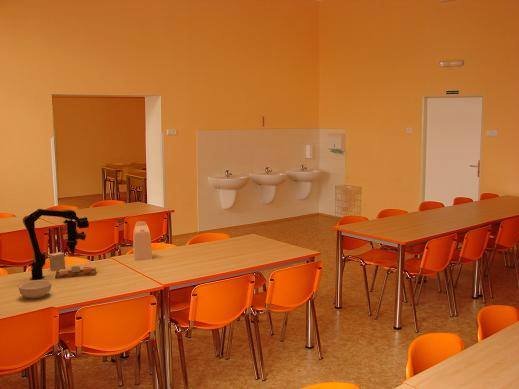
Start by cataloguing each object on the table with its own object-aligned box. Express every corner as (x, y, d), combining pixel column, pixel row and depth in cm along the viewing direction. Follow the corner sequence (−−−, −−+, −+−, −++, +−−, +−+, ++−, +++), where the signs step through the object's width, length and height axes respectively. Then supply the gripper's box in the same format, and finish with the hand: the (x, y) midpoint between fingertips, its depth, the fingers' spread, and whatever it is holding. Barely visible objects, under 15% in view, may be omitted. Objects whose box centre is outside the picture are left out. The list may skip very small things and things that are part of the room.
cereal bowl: (12, 299, 302) (11, 287, 301) (34, 290, 317) (34, 278, 316) (37, 302, 296) (36, 289, 295) (58, 293, 311) (57, 281, 310)
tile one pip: (59, 275, 343) (59, 271, 343) (60, 273, 348) (60, 269, 348) (68, 274, 344) (67, 270, 344) (68, 272, 349) (68, 268, 349)
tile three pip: (83, 273, 347) (83, 268, 346) (83, 271, 352) (83, 267, 351) (91, 272, 348) (91, 268, 348) (91, 270, 353) (91, 266, 353)
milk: (150, 255, 396) (148, 219, 392) (152, 259, 385) (150, 222, 381) (133, 256, 392) (131, 221, 388) (135, 260, 381) (133, 223, 378)
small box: (61, 267, 368) (59, 251, 367) (65, 268, 365) (64, 253, 363) (49, 269, 362) (48, 254, 361) (54, 271, 358) (53, 255, 357)
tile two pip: (71, 272, 345) (71, 268, 344) (71, 270, 350) (71, 266, 349) (79, 271, 346) (79, 267, 346) (80, 269, 351) (79, 265, 351)
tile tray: (55, 278, 340) (55, 275, 340) (56, 274, 350) (56, 271, 350) (95, 275, 347) (95, 272, 346) (96, 271, 356) (95, 268, 356)
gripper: (84, 231, 343) (86, 255, 345) (85, 226, 361) (87, 249, 363) (65, 232, 340) (67, 257, 343) (67, 227, 358) (69, 250, 360)
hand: (73, 253), depth 352 cm, fingers closed
